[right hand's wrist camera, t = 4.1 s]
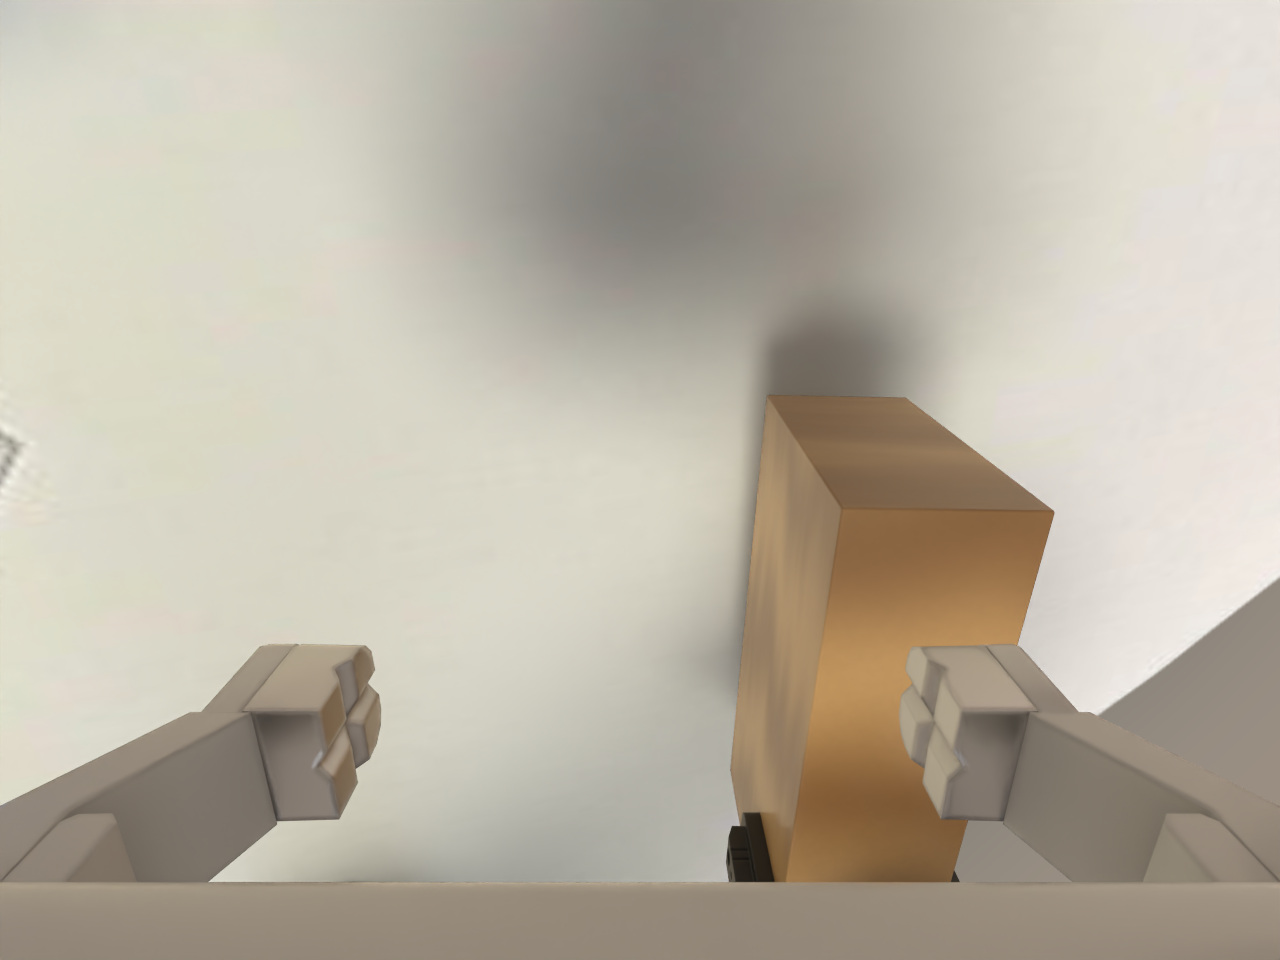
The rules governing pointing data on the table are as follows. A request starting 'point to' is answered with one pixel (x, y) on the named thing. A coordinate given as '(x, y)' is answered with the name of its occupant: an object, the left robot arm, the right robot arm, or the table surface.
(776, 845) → the box
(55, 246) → the table surface
